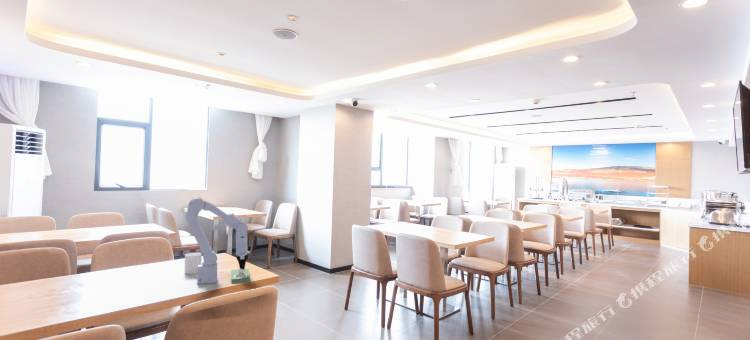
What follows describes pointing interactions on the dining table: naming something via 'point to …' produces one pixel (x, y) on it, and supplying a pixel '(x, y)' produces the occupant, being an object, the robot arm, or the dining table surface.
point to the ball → (241, 271)
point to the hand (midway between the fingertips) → (242, 269)
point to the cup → (192, 262)
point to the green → (239, 276)
